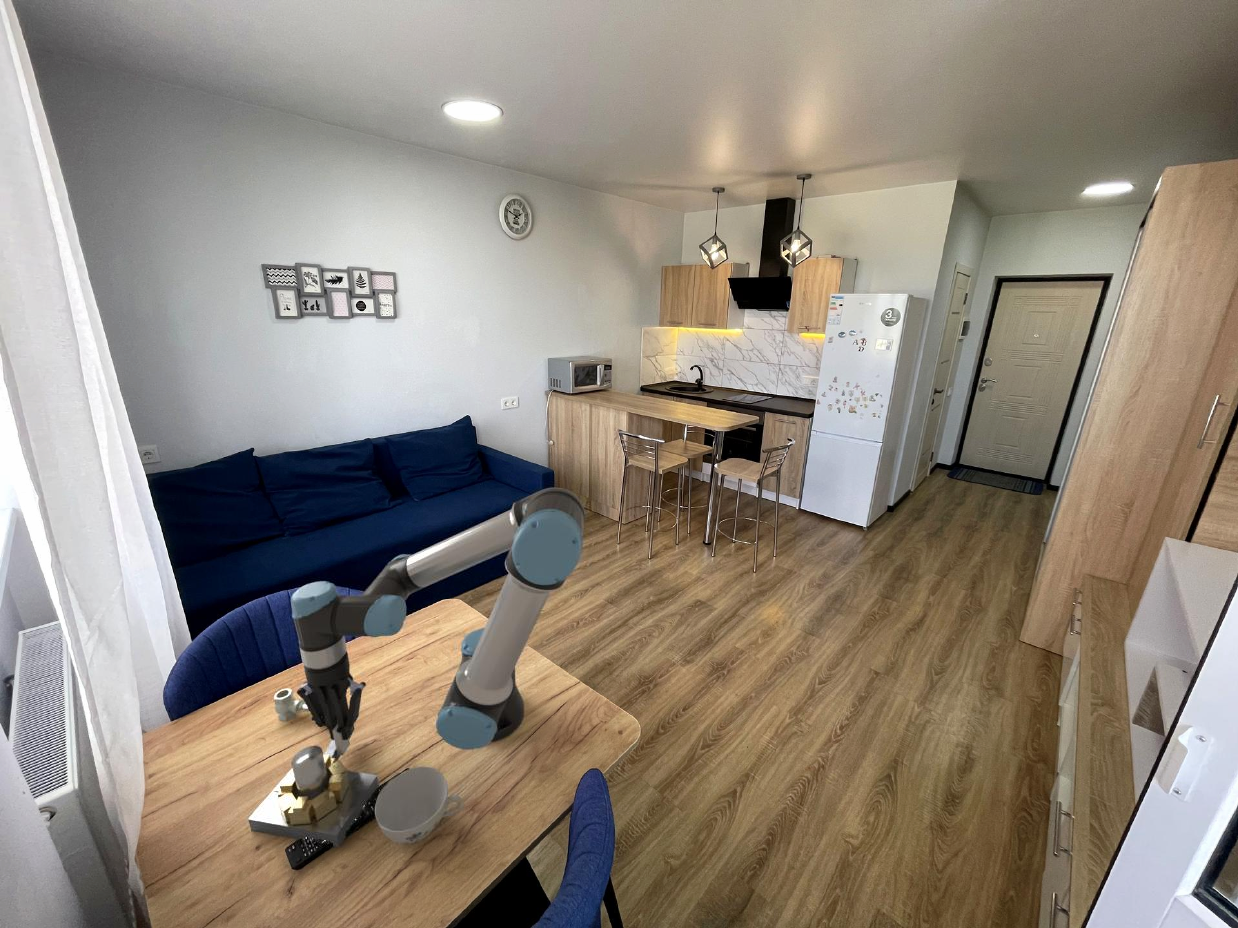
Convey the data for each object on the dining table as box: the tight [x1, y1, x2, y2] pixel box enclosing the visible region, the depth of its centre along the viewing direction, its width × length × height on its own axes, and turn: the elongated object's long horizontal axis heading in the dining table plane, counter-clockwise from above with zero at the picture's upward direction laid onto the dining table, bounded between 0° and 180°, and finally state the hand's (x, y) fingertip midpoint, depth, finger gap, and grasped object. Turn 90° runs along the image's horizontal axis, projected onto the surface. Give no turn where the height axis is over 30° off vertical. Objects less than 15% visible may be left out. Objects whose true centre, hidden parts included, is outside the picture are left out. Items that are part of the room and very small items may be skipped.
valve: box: [273, 688, 322, 725], centre depth 115 cm, size 7×7×12 cm
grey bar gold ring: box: [277, 724, 355, 825], centre depth 98 cm, size 11×21×4 cm, turn 6°
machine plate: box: [247, 745, 380, 848], centre depth 93 cm, size 18×12×13 cm, turn 82°
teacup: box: [374, 765, 463, 845], centre depth 91 cm, size 15×12×8 cm
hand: (343, 749), depth 103 cm, fingers closed
